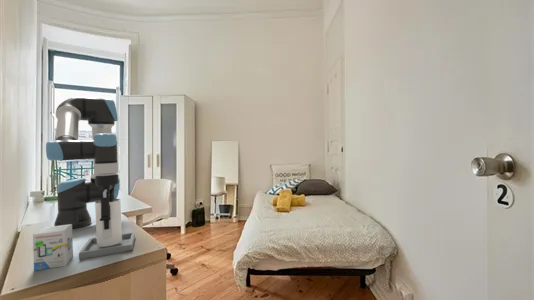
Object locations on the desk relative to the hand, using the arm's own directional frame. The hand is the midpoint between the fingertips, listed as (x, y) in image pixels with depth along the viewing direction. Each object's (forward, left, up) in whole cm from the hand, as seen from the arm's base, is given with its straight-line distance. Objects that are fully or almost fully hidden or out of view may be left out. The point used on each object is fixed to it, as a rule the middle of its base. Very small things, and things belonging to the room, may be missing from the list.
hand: (109, 233), depth 100 cm
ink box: (+7, -15, -5) cm, 17 cm away
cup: (0, 0, -3) cm, 3 cm away
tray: (0, 0, -5) cm, 5 cm away
